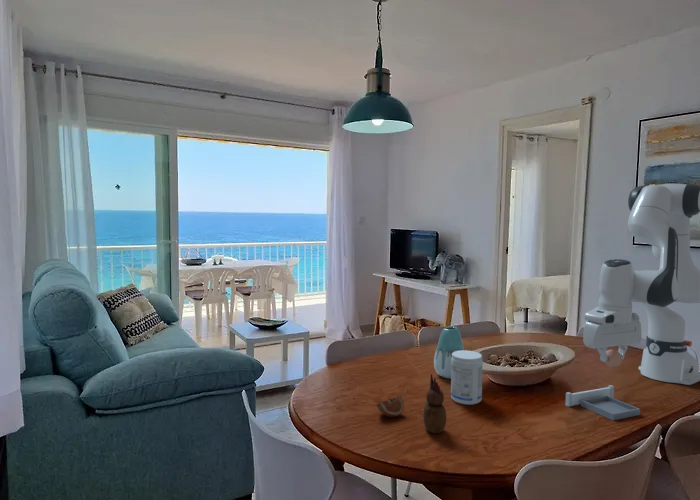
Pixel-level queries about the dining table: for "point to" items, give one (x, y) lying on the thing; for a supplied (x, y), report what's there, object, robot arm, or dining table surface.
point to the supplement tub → (466, 377)
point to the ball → (613, 358)
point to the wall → (588, 395)
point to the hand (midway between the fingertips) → (612, 360)
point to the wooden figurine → (434, 409)
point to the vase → (447, 350)
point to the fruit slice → (391, 407)
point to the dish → (610, 407)
